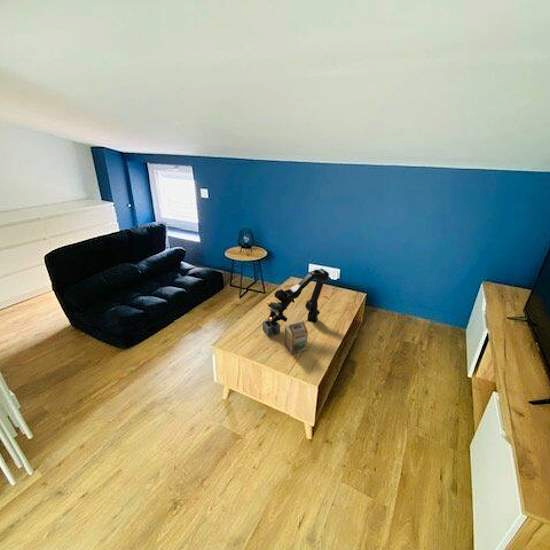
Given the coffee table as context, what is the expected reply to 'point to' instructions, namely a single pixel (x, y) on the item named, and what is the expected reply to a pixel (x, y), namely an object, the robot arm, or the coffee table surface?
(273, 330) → the press
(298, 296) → the robot arm
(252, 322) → the coffee table surface
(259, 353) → the coffee table surface
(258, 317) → the coffee table surface
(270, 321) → the plunger
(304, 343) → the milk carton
